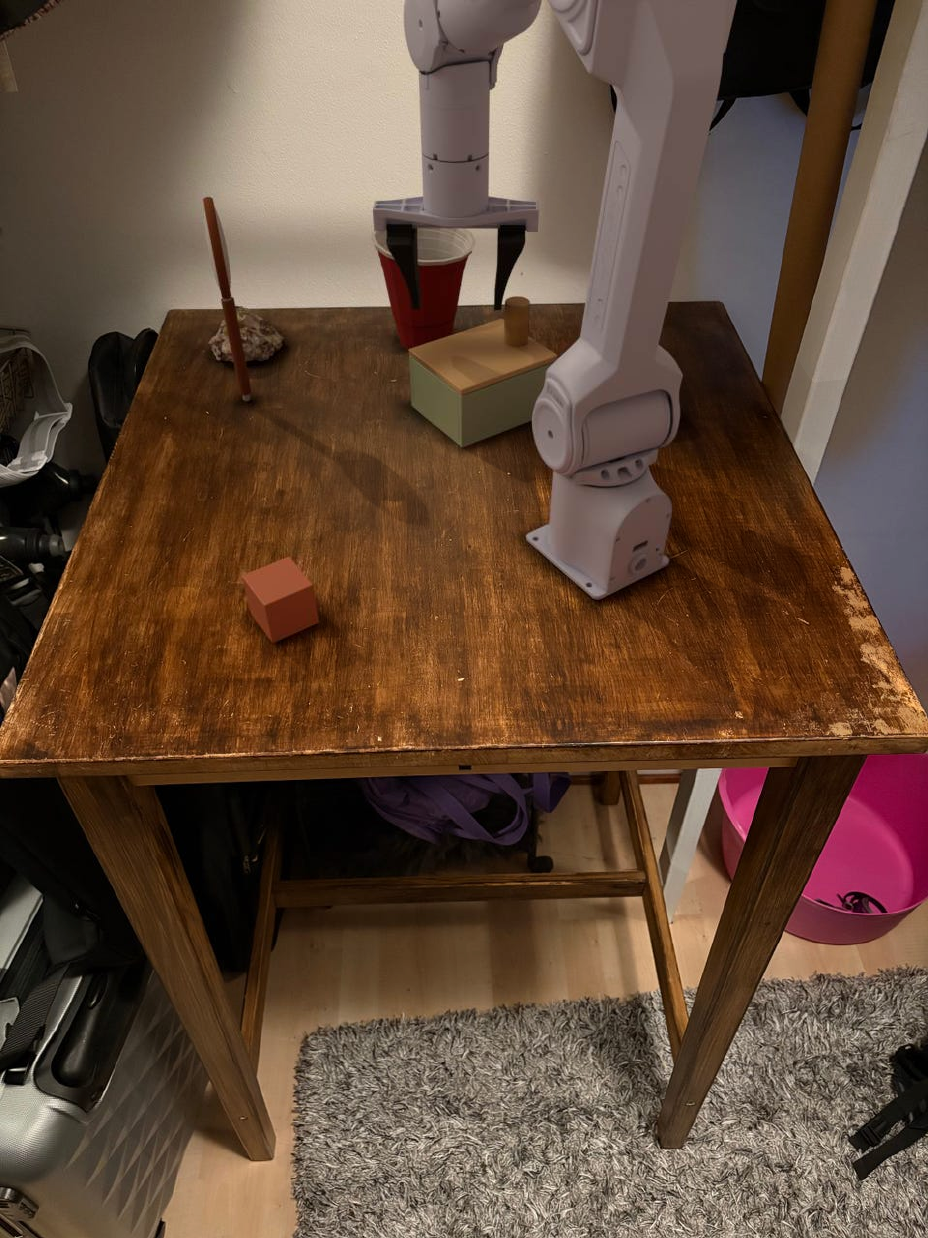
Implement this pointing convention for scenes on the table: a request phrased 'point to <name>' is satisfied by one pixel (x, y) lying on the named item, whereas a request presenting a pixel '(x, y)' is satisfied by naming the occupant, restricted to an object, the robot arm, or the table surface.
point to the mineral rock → (248, 338)
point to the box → (475, 403)
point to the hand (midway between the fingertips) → (457, 305)
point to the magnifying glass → (225, 291)
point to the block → (281, 599)
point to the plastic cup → (427, 283)
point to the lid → (486, 351)
